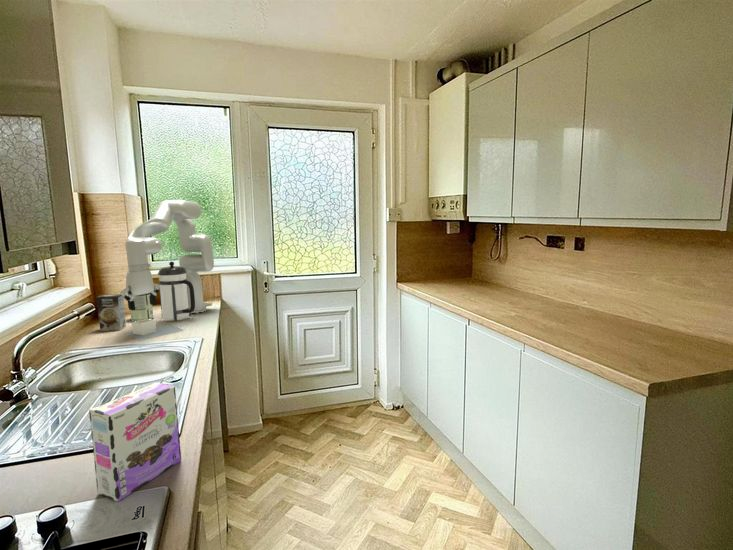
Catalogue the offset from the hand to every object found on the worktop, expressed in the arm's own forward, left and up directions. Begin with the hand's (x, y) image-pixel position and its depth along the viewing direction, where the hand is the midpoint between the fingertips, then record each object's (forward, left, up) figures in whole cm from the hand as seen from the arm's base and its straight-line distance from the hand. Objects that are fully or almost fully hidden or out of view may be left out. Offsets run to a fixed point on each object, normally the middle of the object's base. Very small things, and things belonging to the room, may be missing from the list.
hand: (142, 307), depth 174 cm
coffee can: (-11, -34, -13) cm, 38 cm away
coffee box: (+5, -24, -13) cm, 28 cm away
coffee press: (-21, -14, -13) cm, 28 cm away
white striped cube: (0, 0, -11) cm, 11 cm away
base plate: (-3, +3, -13) cm, 13 cm away
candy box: (+38, +105, -13) cm, 113 cm away
